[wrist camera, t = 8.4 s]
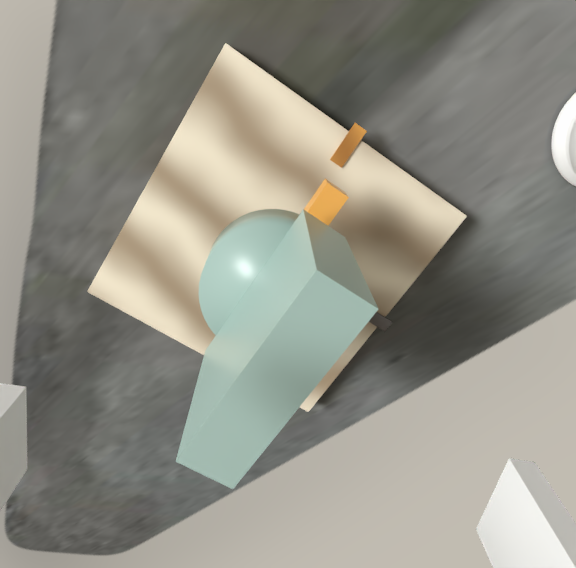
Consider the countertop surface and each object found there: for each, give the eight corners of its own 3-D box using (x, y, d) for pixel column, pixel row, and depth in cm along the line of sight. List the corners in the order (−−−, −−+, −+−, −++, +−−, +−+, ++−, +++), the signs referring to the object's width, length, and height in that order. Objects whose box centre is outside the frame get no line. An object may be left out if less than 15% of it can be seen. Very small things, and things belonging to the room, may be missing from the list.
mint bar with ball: (176, 301, 34) (115, 431, 21) (276, 144, 30) (277, 187, 17) (282, 362, 36) (286, 515, 23) (389, 222, 32) (465, 312, 19)
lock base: (233, 36, 33) (225, 26, 28) (470, 207, 38) (501, 226, 33) (95, 282, 40) (68, 311, 35) (313, 401, 45) (318, 443, 40)
